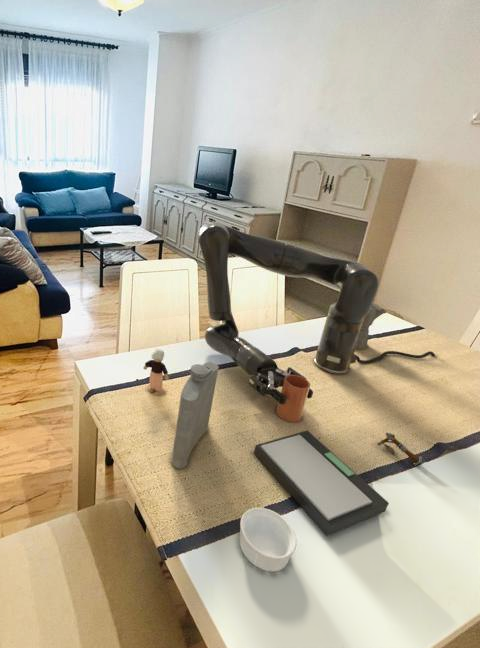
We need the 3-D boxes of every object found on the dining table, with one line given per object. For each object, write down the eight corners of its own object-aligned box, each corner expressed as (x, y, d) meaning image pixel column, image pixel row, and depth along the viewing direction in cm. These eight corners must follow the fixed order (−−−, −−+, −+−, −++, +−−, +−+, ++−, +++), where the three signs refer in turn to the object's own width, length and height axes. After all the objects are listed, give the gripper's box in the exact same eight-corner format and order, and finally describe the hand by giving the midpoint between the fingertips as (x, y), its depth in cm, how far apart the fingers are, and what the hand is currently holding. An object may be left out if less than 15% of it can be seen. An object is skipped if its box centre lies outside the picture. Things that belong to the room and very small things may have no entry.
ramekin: (261, 585, 60) (266, 567, 59) (225, 534, 68) (229, 516, 66) (302, 563, 64) (308, 546, 62) (264, 517, 71) (269, 500, 69)
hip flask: (182, 471, 80) (195, 392, 72) (165, 462, 82) (175, 384, 74) (209, 426, 92) (222, 355, 85) (193, 419, 94) (204, 349, 87)
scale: (304, 438, 91) (307, 428, 90) (385, 511, 74) (390, 500, 72) (253, 453, 85) (256, 442, 84) (326, 536, 68) (331, 524, 67)
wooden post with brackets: (374, 438, 91) (389, 428, 88) (406, 466, 87) (423, 457, 85) (372, 442, 89) (387, 432, 87) (405, 471, 86) (422, 461, 83)
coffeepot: (376, 346, 135) (393, 299, 128) (368, 355, 128) (385, 306, 122) (330, 329, 145) (343, 285, 138) (321, 337, 138) (334, 291, 132)
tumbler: (288, 404, 102) (297, 372, 98) (305, 419, 97) (315, 386, 93) (271, 408, 100) (279, 376, 96) (287, 423, 95) (297, 390, 91)
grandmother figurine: (170, 390, 105) (175, 350, 100) (165, 398, 102) (170, 357, 97) (143, 381, 108) (147, 342, 103) (138, 389, 104) (142, 349, 100)
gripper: (236, 355, 105) (278, 391, 91) (277, 348, 110) (323, 381, 96) (232, 378, 108) (272, 416, 94) (272, 370, 113) (316, 405, 99)
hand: (298, 398), depth 95 cm, fingers open, 8 cm apart
